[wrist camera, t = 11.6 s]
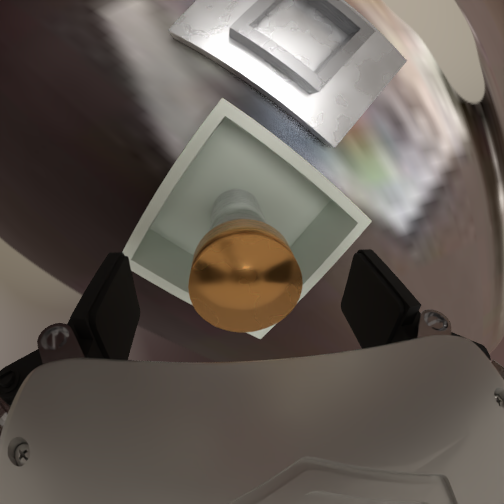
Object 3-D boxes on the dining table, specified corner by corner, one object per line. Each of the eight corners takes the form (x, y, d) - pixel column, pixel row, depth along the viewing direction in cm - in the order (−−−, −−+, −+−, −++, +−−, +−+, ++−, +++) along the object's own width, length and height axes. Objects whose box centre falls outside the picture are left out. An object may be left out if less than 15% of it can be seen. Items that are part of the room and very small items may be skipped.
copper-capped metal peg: (201, 182, 19) (181, 241, 10) (268, 179, 19) (307, 234, 10) (206, 243, 21) (196, 334, 12) (267, 240, 22) (297, 327, 13)
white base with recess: (173, 38, 14) (161, 20, 11) (258, -40, 11) (264, -65, 8) (325, 144, 19) (346, 151, 15) (393, 63, 16) (422, 58, 12)
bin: (140, 227, 21) (117, 261, 16) (223, 104, 17) (222, 97, 12) (253, 295, 25) (260, 339, 20) (339, 196, 21) (371, 221, 16)
